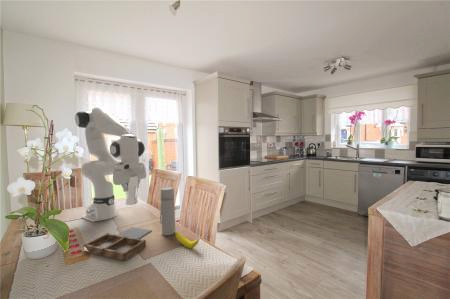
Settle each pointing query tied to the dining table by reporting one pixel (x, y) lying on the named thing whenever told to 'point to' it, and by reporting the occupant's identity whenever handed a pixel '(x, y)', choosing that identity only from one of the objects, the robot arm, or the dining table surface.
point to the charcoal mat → (135, 232)
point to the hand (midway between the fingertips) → (131, 189)
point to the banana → (186, 241)
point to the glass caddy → (115, 246)
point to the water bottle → (167, 211)
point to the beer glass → (132, 191)
